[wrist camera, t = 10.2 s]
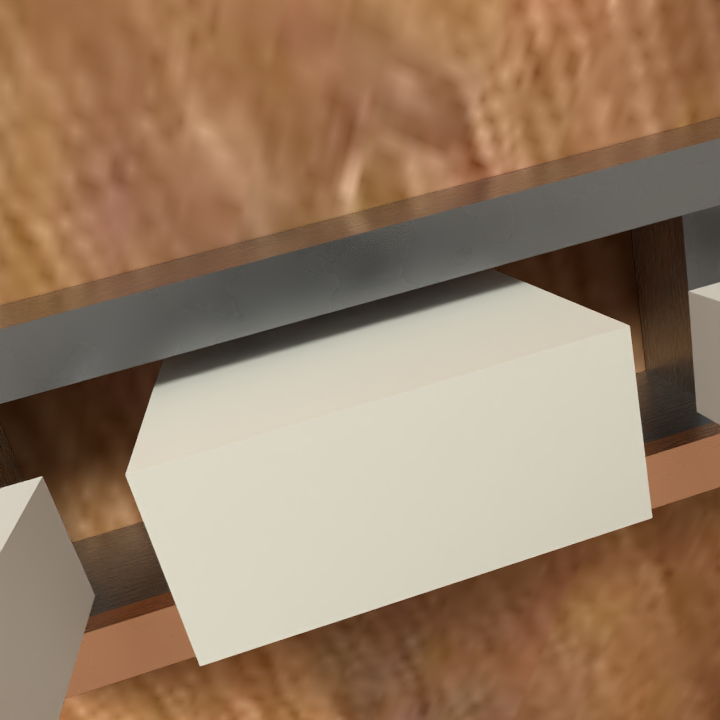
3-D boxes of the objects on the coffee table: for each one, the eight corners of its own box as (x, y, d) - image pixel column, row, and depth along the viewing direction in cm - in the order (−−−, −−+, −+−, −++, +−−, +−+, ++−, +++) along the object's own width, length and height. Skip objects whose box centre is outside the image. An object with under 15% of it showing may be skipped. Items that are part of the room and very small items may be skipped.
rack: (-107, 333, 17) (-269, 418, 12) (1073, 24, 21) (1384, -25, 15) (21, 607, 20) (-60, 783, 14) (1049, 290, 24) (1308, 332, 18)
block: (166, 348, 19) (125, 474, 11) (476, 261, 20) (629, 325, 12) (210, 475, 20) (200, 666, 13) (499, 389, 21) (652, 518, 13)
